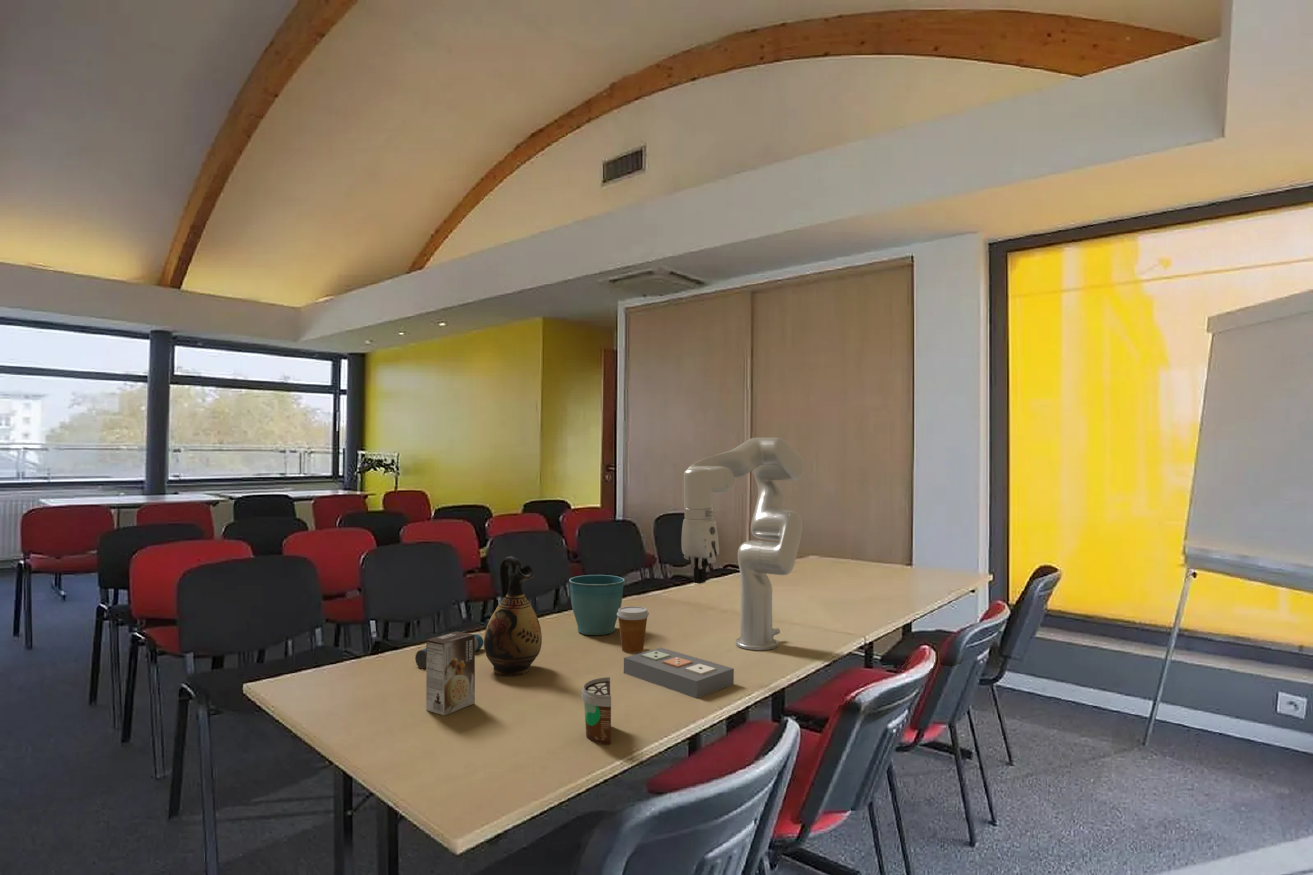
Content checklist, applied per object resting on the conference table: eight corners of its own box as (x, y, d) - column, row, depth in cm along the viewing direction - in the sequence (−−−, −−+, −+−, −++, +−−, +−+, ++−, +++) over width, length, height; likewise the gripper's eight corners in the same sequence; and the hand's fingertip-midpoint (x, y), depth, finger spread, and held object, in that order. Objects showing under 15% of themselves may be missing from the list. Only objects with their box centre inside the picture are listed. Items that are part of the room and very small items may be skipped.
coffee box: (456, 698, 163) (457, 630, 163) (475, 703, 159) (476, 634, 160) (424, 710, 155) (425, 639, 155) (444, 716, 152) (445, 643, 152)
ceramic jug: (553, 670, 185) (554, 558, 185) (505, 683, 173) (506, 564, 174) (516, 657, 196) (517, 551, 197) (468, 669, 185) (469, 557, 186)
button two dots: (655, 663, 188) (655, 650, 188) (670, 667, 184) (670, 654, 184) (641, 667, 184) (641, 654, 184) (655, 672, 180) (655, 658, 180)
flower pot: (593, 621, 237) (594, 572, 238) (635, 630, 227) (635, 578, 227) (557, 632, 223) (557, 580, 223) (599, 642, 212) (599, 586, 213)
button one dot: (699, 677, 176) (699, 662, 176) (715, 682, 172) (715, 667, 172) (685, 681, 172) (685, 667, 172) (701, 687, 168) (701, 672, 169)
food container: (581, 723, 148) (581, 677, 148) (609, 723, 148) (610, 676, 149) (579, 748, 136) (580, 697, 136) (610, 747, 136) (611, 696, 136)
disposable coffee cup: (611, 652, 201) (611, 611, 201) (624, 644, 210) (624, 604, 210) (640, 656, 197) (641, 614, 198) (653, 647, 206) (653, 607, 206)
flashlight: (414, 667, 187) (414, 648, 187) (474, 648, 206) (474, 631, 206) (427, 670, 185) (427, 651, 185) (486, 650, 203) (486, 633, 203)
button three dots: (677, 669, 182) (677, 656, 182) (692, 674, 178) (692, 660, 178) (662, 674, 178) (662, 660, 178) (677, 679, 174) (677, 665, 174)
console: (661, 661, 192) (661, 647, 192) (733, 684, 174) (733, 668, 174) (623, 672, 182) (623, 657, 182) (696, 698, 164) (696, 681, 164)
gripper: (728, 515, 182) (730, 584, 182) (687, 511, 192) (689, 576, 193) (710, 518, 177) (711, 589, 177) (668, 514, 187) (670, 581, 188)
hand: (700, 582), depth 185 cm, fingers closed
